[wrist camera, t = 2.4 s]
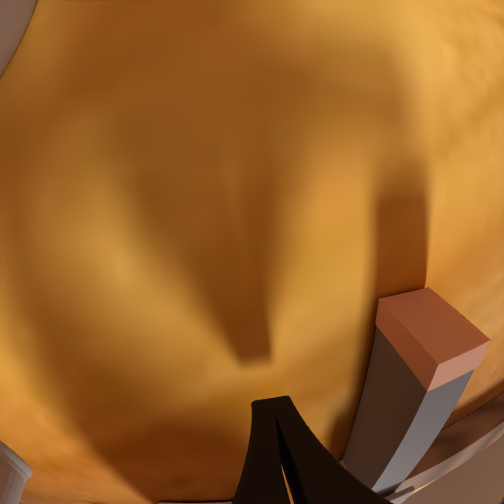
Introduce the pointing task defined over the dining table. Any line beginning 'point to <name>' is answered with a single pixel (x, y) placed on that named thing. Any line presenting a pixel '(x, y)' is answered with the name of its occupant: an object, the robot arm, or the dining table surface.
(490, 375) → the dining table surface
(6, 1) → the mug
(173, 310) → the dining table surface
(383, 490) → the stool leg
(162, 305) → the dining table surface
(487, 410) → the rail
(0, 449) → the glass holder
